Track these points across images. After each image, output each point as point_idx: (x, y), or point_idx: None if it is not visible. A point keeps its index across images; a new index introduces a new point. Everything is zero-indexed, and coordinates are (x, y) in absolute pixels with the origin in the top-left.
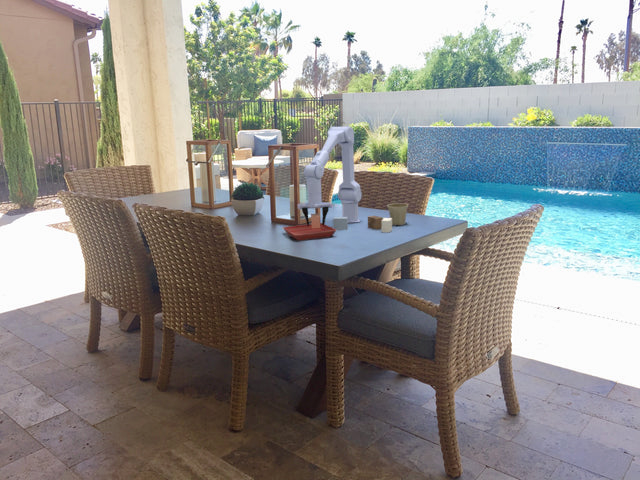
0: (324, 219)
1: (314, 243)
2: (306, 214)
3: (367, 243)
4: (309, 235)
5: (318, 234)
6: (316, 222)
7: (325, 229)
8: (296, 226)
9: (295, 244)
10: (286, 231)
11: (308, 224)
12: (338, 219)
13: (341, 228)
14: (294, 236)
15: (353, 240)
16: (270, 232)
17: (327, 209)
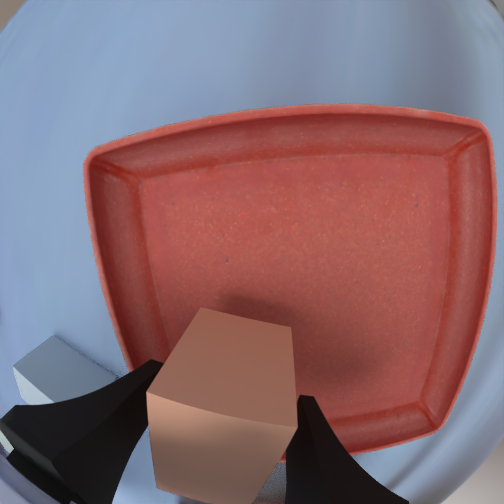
0: (118, 383)
1: (335, 24)
2: (348, 485)
3: (65, 5)
4: (369, 120)
5: (270, 126)
6: (228, 353)
7: (158, 358)
8: (355, 448)
9: (456, 72)
10: (448, 377)
11: (307, 401)
12: (52, 394)
13: (72, 354)
14: (476, 175)
15: (76, 50)
16: (456, 423)
17: (3, 420)
